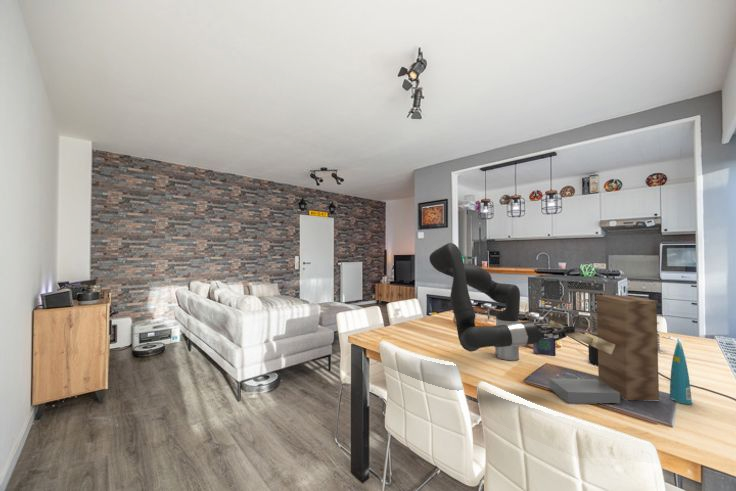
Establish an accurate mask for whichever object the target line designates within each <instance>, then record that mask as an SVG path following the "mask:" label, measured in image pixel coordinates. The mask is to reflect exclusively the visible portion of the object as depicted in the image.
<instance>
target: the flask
mask: <svg viewBox="0 0 736 491" xmlns="http://www.w3.org/2000/svg"><path fill="white" fill-rule="evenodd" d="M532 350H533V351H532V353H533V354H535V355H539V356H540V355H542V356H550V357H551V356H553V357H556V354H557V352H556V341H554V340H553V338H548V339H543V338H541V339H540V341H539V343H537V344H532Z"/></svg>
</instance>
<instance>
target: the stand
mask: <svg viewBox="0 0 736 491" xmlns="http://www.w3.org/2000/svg"><path fill="white" fill-rule="evenodd" d="M594 298H595V299H596V316H597V320H596V321H597V326H596V327H597V337H599V338H601V339H603V340H606V341H608V342H610V343H613V344H615V347H614V350H613V352H612V354H609V353H607V352H604V351H602V350H600V349H598V366H597V367H598V368H597V371H598V376H597V377H598V381H600V382H602V383H604V384H605V385H607V386H609V387H611V388H612V389H614V390H616V391H618V392H619V393H620V396H621V397H623V398H624V399H626V400H659V401H660V393H659V392H660V389H659V388H660V387H659V386H660V383H659V354H658V347H659V346H658V341H657V334H658V333H657V331H658V325H657V322H658V313H657V311H658V310H657V306H658V305H659V301H658V300H653V299H649V298H642V297H636V296H631V295H622V294H619V295H617V294H614V295H610V294H609V295H605V294H603V295H601V294H600V295H599V294H598V295H597V294H596V295H595V296H594ZM621 397H620V398H621ZM623 398H622V399H623ZM624 399H623V400H624ZM626 400H625V401H626Z"/></svg>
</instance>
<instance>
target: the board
mask: <svg viewBox="0 0 736 491" xmlns="http://www.w3.org/2000/svg"><path fill="white" fill-rule="evenodd" d="M549 390H551V392H553V393H554V394H555V395H557V396H558V397H560V398H561V399H562V400H563V401H564V402H566V403H567V404H580V405H581V404H585V405H586V404H587V405H590V404H592V405H593V404H594V405H597V403H618V404H617V405H620V404H621V397H620V393H619V392H618V391H616V390H614V389H612V388H611V387H609V386H607V385H605V384H604V383H602V382H600V381H599V379H597V378H595V379H594V378H593V379H592V378H549ZM619 403H620V404H619Z"/></svg>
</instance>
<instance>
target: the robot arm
mask: <svg viewBox="0 0 736 491" xmlns="http://www.w3.org/2000/svg"><path fill="white" fill-rule="evenodd" d="M429 263H430V264H431V266H432V268H434V270H436V271H437V272H440V273H442V274H444V275H447V276H449V277H451V278H452V285H451V290H450V306H451V308H452V312H453V316H454V318H455V321H456V322H455V323H456V331H457V336H458V341H459V344H460V345H461V347H462V348H463V349H464V350H465V351H467V352H471V353H472V352H476V351H477V350H479V349H482V348H490V347H493V348H494V349H495V350H494V352H495V353H494V354H495V357H497V359H501V360H505V361H518V360H519V359H520V352H519V350H520V347H521V346H522V347H523V346H529V345H530V346H531V345H532V346H533V344H537V343H539V341H540V339H541V338H543V339H548V338H553V340H554V341H555V342H556V341H557V342H558V341H560V340H562V339H564V338H566V337H567V335H566V334H570V333H575V331H576V328H575V326H573V325H569V324H568V323H560V324H561V325H563V326H566V327H555V326H549V322H534V321H530V320H527V321H519V316H520V307H521V305H520V304H521V291H520V288H519V286H517V285H516V284H512V283H511V284H510V283H500V282H496V281H494V280H493V279H492V278H493V277H492V275H491V274H490V272H489V271H487V270H486V269H484V268H483V267H482V266H479V265H477V264H472V263H464V257H463V254H462V252H461V250H460V249H459V247H458V246H457V245H456V244H455V243H453V242H449V243H446V244H444V245H442V246H441V247H439V248H437V249H435V250H434V251H432V252H431V253H430V255H429ZM468 286H469V287H471V288H472V289H474V290H477V291H478V292H481V293H483V294H485V295H486V296H487V297H489V298H490V299H491V300H493V301H494V302H496V303H498V304H503V305H506V306H505V309H504V310H499V311H496V313H495V325H493V326H489V325H477V326H476V323H475V321H476V313H475V309H474V306H473V303H472V300H471V297H470V293H469V288H468Z"/></svg>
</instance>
